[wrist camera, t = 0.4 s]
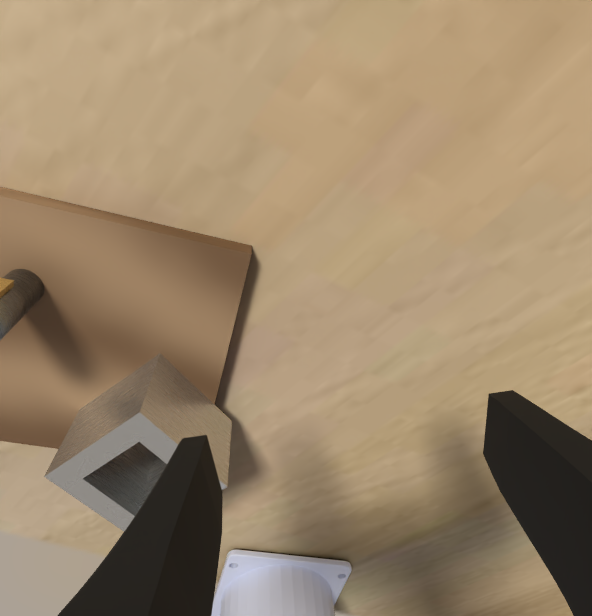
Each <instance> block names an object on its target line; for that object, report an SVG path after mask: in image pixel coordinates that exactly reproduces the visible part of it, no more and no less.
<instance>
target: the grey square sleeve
mask: <svg viewBox="0 0 592 616" xmlns="http://www.w3.org/2000/svg"><path fill="white" fill-rule="evenodd" d="M231 428H232V421H231V420H230V419H229V418H228V417H227V416H226V415H225V414H224V413H223V412H222V411H221V410H220V409H219V408H218V407H216V406H215V405H214V404H213V403H212V402H211V401H210V400H209V399H208V398H207V397H206V396H205V395H204V394H203V393H202V392H201V391H200V390H199V389H197V388H196V387H195V386H194V385H193V384H192V383H191V382H190V381H189V380H188V379H187V378H186V377H185V376H184V375H183V374H182V373H181V372H180V371H179V370H177V369H176V368H175V367H174V366H173V365H172V364H171V363H170V362H169V361H168V360H167V359H166V358H165V357H164V356H163V355H162V354H161V353H160V354H158V355H157V356H155V357H154V358H152V359H151V360H150V361H148V362H147V363H145V364H144V365H142V366H141V367H140V368H138V369H137V370H135V371H134V372H132V373H131V374H130V375H128V376H127V377H125V378H124V379H122V380H121V381H120V382H118V383H117V384H115V385H114V386H112V387H111V388H110V389H108V390H107V391H105V392H104V393H102V394H101V395H100V396H98V397H97V398H95V399H94V400H92V401H91V402H90V403H88V404H87V405H85V406H84V407H82V408H81V409H80V410H79V411H78V413H77V415H76V417H75V419H74V421H73V423H72V425H71V427H70V429H69V430H68V432H67V434H66V436H65V438H64V440H63V442H62V444H61V446H60V448H59V449H58V451H57V453H56V455H55V457H54V459H53V461H52V463H51V465H50V467H49V468H48V470H47V472H46V474H45V476H44V477H46V478H47V479H48V480H50V481H51V482H53V483H54V484H56V485H57V486H59V487H60V488H62V489H63V490H64V491H66V492H67V493H69V494H70V495H72V496H73V497H75V498H76V499H78V500H79V501H80V502H82V503H83V504H85V505H86V506H88V507H89V508H91V509H92V510H93V511H95V512H96V513H98V514H99V515H101V516H102V517H104V518H105V519H107V520H108V521H109V522H111V523H112V524H114V525H115V526H117V527H118V528H120V529H121V530H123V531H125V530H126V528H127V527H128V526H129V524H130V523H131V521H132V520H133V518H134V517H135V515H136V514H137V512H138V511H139V509H140V508H141V506H142V505H143V503H144V501H145V500H146V498H147V497H148V495H149V494H150V492H151V490H152V489H153V487H154V486H155V484H156V482H157V481H158V479H159V477H160V476H161V474H162V472H163V470H164V469H165V467H166V465H167V464H168V462H169V460H170V458H171V456H172V455H173V453H174V451H175V449H176V448H177V446H178V444H179V442H180V441H181V440H182V439H183V438H188V437H195V436H202V435H207V437H208V441H209V445H210V448H211V452H212V456H213V459H214V463H215V467H216V471H217V474H218V478H219V482H220V485H221V489H222V490H223V489H225V488H226V487H227V486H228V471H229V457H230V442H231Z"/></svg>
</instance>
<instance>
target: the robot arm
mask: <svg viewBox="0 0 592 616" xmlns="http://www.w3.org/2000/svg"><path fill="white" fill-rule="evenodd" d="M483 454H484V457H485V459H486V461H487V463H488V466H489V468H490V470H491V473H492V475H493V477H494V479H495V481H496V483H497V485H498V487H499V490H500V492H501V493H502V495H503V497H504V498H505V500H506V502H507V503H508V505H509V507H510V508H511V510H512V511H513V513H514V515H515V516H516V518H517V520H518V521H519V523H520V525H521V526H522V528H523V529H524V531H525V533H526V534H527V536H528V537H529V539H530V541H531V542H532V544H533V546H534V547H535V549H536V550H537V552H538V554H539V555H540V557H541V558H542V560H543V562H544V563H545V565H546V567H547V568H548V570H549V571H550V573H551V575H552V576H553V578H554V580H555V581H556V583H557V585H558V587H559V588H560V590H561V592H562V594H563V596H564V597H565V599H566V601H567V603H568V605H569V607H570V609H571V611H572V613H573V615H574V616H592V441H591V440H590V439H588V438H587V437H585V436H583V435H582V434H580V433H579V432H577V431H575V430H574V429H572V428H571V427H569V426H567V425H566V424H564V423H563V422H561V421H560V420H558V419H557V418H555V417H553V416H552V415H550V414H549V413H547V412H546V411H544V410H543V409H541V408H540V407H538V406H537V405H535V404H533V403H532V402H530V401H529V400H527V399H526V398H524V397H523V396H521V395H519V394H518V393H516V392H514V391H513V390H512V391H505V392H498V393H491V394H489V398H488V408H487V419H486V430H485V440H484V451H483ZM221 535H222V489H221V485H220V482H219V478H218V474H217V471H216V467H215V463H214V459H213V456H212V452H211V448H210V445H209V441H208V437H207V435H202V436H195V437H188V438H183V439H182V440H181V441H180V442H179V444H178V446H177V448H176V449H175V451H174V453H173V455H172V456H171V458H170V460H169V462H168V464H167V465H166V467H165V469H164V470H163V472H162V474H161V476H160V477H159V479H158V481H157V482H156V484H155V486H154V487H153V489H152V490H151V492H150V494H149V495H148V497H147V498H146V500H145V501H144V503H143V505H142V506H141V508H140V509H139V511H138V512H137V514H136V515H135V517H134V518H133V520H132V521H131V523H130V524H129V526H128V527H127V528H126V530H125V531H124V533H123V534H122V536H121V537H120V538H119V540H118V541H117V543H116V544H115V546H114V547H113V548H112V550H111V551H110V552H109V554H108V555H107V556H106V558H105V559H104V560H103V562H102V563H101V564H100V566H99V567H98V568H97V569H96V571H95V572H94V573H93V575H92V576H91V577H90V578H89V579H88V581H87V582H86V583H85V584H84V586H83V587H82V588H81V589H80V590H79V592H78V593H77V594H76V595H75V596H74V597H73V599H72V600H71V601H70V602H69V603H68V604H67V605H66V606H65V608H64V609H63V610H62V611H61V612H60V613H59V615H58V616H335V612H334V605H335V603H336V601H337V599H338V597H339V595H340V593H341V591H342V589H343V587H344V585H345V583H346V581H347V579H348V577H349V575H350V573H351V571H352V568H351V564H350V563H349V562H347V561H341V560H332V559H322V558H313V557H304V556H294V555H285V554H275V553H266V552H256V551H247V550H238V549H235V550H231V551H230V552H229V553H228V554H227V557H226V560H225V564H224V567H223V570H222V573H221V576H220V579H219V582H218V586H217V589H216V592H215V595H214V591H215V584H216V576H217V568H218V560H219V552H220V544H221Z"/></svg>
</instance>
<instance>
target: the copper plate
mask: <svg viewBox="0 0 592 616" xmlns="http://www.w3.org/2000/svg"><path fill="white" fill-rule="evenodd" d="M251 254H252V246H250V245H246V244H241V243H237V242H233V241H229V240H224V239H220V238H216V237H212V236H207V235H203V234H199V233H195V232H190V231H186V230H182V229H177V228H173V227H169V226H165V225H160V224H156V223H152V222H148V221H143V220H139V219H135V218H131V217H126V216H122V215H118V214H114V213H109V212H105V211H101V210H97V209H92V208H88V207H84V206H80V205H75V204H71V203H67V202H63V201H58V200H54V199H50V198H45V197H41V196H37V195H33V194H28V193H24V192H20V191H16V190H11V189H7V188H3V187H0V278H3V277H4V276H5V275H6V274H8V273H9V272H10V271H12V270H15V269H26V270H29V271H31V272H33V273H35V274H36V275H37V276H38V277H39V278H40V279H41V280H42V282H43V284H44V294H43V296H42V298H41V299H40V300H39V301H38V302H37V303H36V304H35V305H34V306H33V307H32V308H31V309H30V310H29V311H28V312H27V313H26V314H25V315H24V316H23V317H22V319H21V320H20V321H19V322H18V323H17V324H16V325H15V326H14V327H13V328H12V329H11V330H10V331H9V332H8V333H7V334H6V335H5V336H4V337H3V338H2V339H1V340H0V441H6V442H13V443H21V444H28V445H35V446H42V447H50V448H57V449H59V448H60V446H61V444H62V442H63V440H64V438H65V436H66V434H67V432H68V430H69V429H70V427H71V425H72V423H73V421H74V419H75V417H76V415H77V413H78V411H79V410H80V409H81V408H82V407H84V406H85V405H87V404H88V403H90V402H91V401H92V400H94V399H95V398H97V397H98V396H100V395H101V394H102V393H104V392H105V391H107V390H108V389H110V388H111V387H112V386H114V385H115V384H117V383H118V382H120V381H121V380H122V379H124V378H125V377H127V376H128V375H130V374H131V373H132V372H134V371H135V370H137V369H138V368H140V367H141V366H142V365H144V364H145V363H147V362H148V361H150V360H151V359H152V358H154V357H155V356H157V355H158V354H160V353H161V354H162V355H163V356H164V357H165V358H166V359H167V360H168V361H169V362H170V363H171V364H172V365H173V366H174V367H175V368H176V369H177V370H179V371H180V372H181V373H182V374H183V375H184V376H185V377H186V378H187V379H188V380H189V381H190V382H191V383H192V384H193V385H194V386H195V387H196V388H197V389H199V390H200V391H201V392H202V393H203V394H204V395H205V396H206V397H207V398H208V399H209V400H210V401H211V402H212V403H213V404H214V405H215V400H216V396H217V392H218V388H219V384H220V380H221V376H222V372H223V368H224V364H225V360H226V356H227V352H228V348H229V344H230V340H231V336H232V332H233V327H234V323H235V319H236V315H237V311H238V307H239V303H240V299H241V295H242V291H243V287H244V283H245V279H246V275H247V271H248V267H249V263H250V259H251Z"/></svg>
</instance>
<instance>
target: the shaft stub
mask: <svg viewBox="0 0 592 616" xmlns="http://www.w3.org/2000/svg"><path fill="white" fill-rule="evenodd" d="M43 294H44V284H43V282H42V280H41V279H40V278H39V277H38V276H37V275H36V274H35V273H33V272H31V271H29V270H26V269H15V270H12V271H10V272H9V273H8V274H6V275H5V276H4V277H3V278H0V340H1V339H2V338H3V337H4V336H5V335H6V334H7V333H8V332H9V331H10V330H11V329H12V328H13V327H14V326H15V325H16V324H17V323H18V322H19V321H20V320H21V319H22V317H23V316H24V315H25V314H26V313H27V312H28V311H29V310H30V309H31V308H32V307H33V306H34V305H35V304H36V303H37V302H38V301H39V300H40V299H41V298H42V296H43Z"/></svg>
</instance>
